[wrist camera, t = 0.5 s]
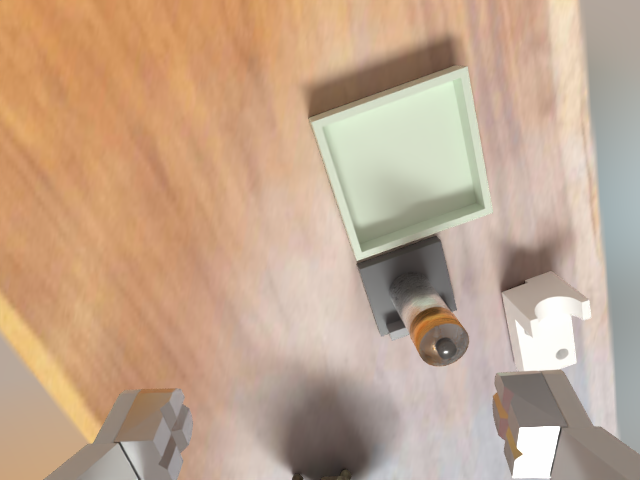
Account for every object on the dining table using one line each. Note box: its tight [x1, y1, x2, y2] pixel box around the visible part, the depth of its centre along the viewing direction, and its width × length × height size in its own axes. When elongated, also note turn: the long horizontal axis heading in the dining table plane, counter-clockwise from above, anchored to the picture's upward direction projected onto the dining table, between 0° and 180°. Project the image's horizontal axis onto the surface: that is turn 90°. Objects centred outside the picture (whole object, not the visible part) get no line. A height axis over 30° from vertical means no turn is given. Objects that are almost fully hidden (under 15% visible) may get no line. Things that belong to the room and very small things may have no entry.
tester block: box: [357, 236, 457, 341], centre depth 55 cm, size 10×10×3 cm
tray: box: [308, 65, 493, 261], centre depth 49 cm, size 16×16×3 cm
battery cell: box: [390, 272, 469, 366], centre depth 49 cm, size 5×5×12 cm
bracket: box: [502, 271, 591, 372], centre depth 58 cm, size 13×7×8 cm, turn 19°
